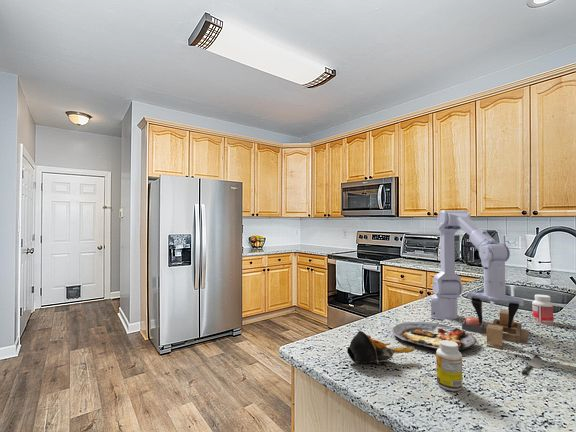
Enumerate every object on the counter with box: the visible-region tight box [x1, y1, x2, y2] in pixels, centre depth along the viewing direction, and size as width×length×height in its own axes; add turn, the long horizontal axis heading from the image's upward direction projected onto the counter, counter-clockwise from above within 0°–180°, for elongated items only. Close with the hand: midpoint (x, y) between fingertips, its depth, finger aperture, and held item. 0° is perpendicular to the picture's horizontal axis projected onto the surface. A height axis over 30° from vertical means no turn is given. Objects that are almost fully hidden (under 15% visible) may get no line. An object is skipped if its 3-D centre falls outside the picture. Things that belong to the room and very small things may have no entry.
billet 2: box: [498, 309, 515, 327], centre depth 111 cm, size 4×4×6 cm
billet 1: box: [486, 323, 504, 350], centre depth 98 cm, size 4×4×6 cm
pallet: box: [482, 318, 530, 345], centre depth 107 cm, size 12×16×3 cm
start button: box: [465, 316, 480, 326], centre depth 111 cm, size 4×4×3 cm
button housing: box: [461, 318, 485, 334], centre depth 111 cm, size 6×6×3 cm
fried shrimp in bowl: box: [346, 330, 416, 365], centre depth 89 cm, size 9×11×18 cm
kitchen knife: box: [521, 354, 543, 376], centre depth 86 cm, size 19×1×3 cm
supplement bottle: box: [435, 340, 463, 392], centre depth 75 cm, size 6×6×10 cm
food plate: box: [391, 321, 477, 351], centre depth 104 cm, size 25×23×4 cm
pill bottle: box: [531, 293, 555, 326], centre depth 118 cm, size 6×6×11 cm
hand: (494, 324), depth 98 cm, fingers open, 7 cm apart
